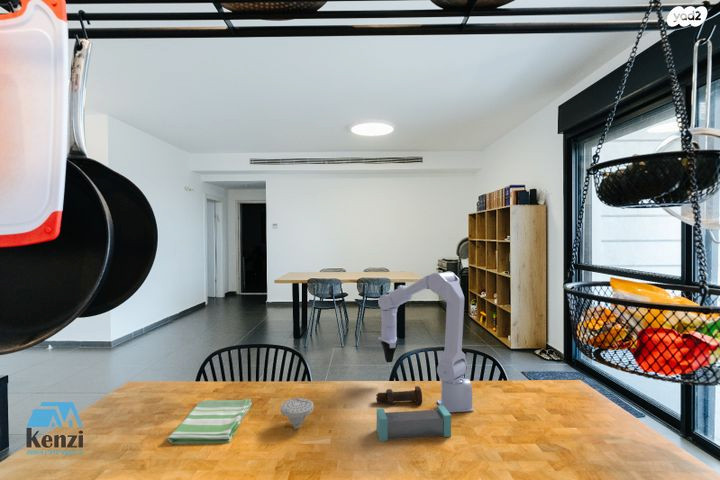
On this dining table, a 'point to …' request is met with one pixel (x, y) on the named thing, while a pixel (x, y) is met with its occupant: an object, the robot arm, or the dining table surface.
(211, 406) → the dish towel
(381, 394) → the bolt
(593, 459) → the dining table surface
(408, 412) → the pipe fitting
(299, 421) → the showerhead
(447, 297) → the robot arm
